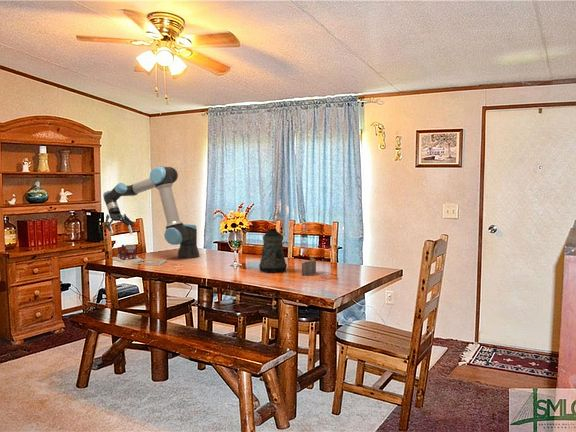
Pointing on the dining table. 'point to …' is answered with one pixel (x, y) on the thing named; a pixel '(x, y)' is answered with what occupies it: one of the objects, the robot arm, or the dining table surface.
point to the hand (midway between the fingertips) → (122, 233)
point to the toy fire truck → (127, 252)
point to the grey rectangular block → (309, 267)
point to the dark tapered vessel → (272, 253)
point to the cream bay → (125, 259)
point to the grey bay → (150, 263)
